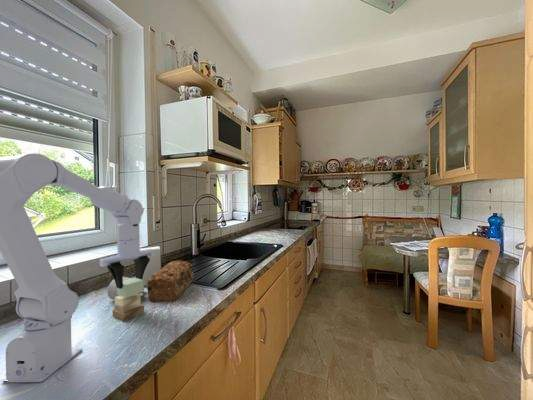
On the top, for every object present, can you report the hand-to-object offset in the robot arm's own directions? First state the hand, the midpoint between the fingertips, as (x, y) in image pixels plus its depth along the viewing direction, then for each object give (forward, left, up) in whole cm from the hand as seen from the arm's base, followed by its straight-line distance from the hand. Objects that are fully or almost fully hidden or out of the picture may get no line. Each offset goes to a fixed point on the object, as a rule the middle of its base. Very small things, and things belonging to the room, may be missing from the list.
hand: (129, 284), depth 67 cm
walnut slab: (+1, +1, -10) cm, 10 cm away
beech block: (+1, +1, -7) cm, 8 cm away
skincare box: (+27, +8, -10) cm, 30 cm away
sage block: (0, 0, -2) cm, 3 cm away
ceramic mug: (+13, +9, -10) cm, 19 cm away
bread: (+18, -5, -10) cm, 21 cm away
